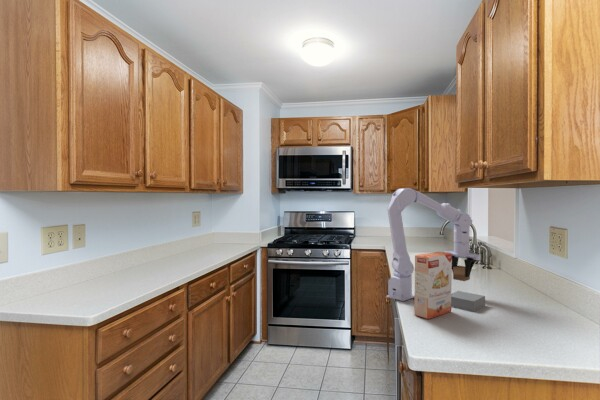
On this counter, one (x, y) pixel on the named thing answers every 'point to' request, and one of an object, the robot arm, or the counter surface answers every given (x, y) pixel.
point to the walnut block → (460, 273)
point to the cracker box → (433, 284)
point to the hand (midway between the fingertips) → (461, 275)
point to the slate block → (467, 301)
